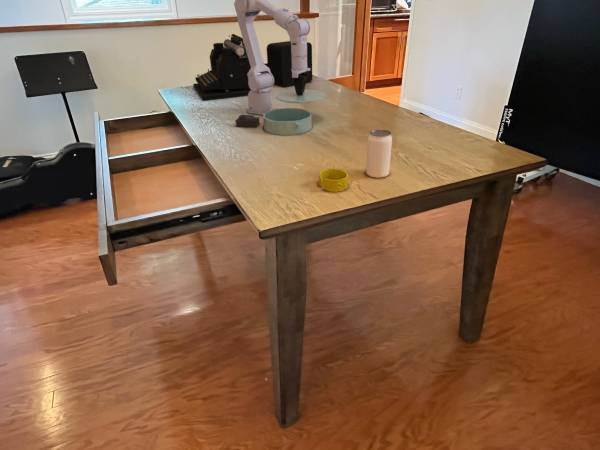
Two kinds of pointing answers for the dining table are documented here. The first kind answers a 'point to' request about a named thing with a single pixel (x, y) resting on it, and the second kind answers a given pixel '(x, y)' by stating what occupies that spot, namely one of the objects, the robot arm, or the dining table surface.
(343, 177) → the bracelet
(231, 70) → the typewriter
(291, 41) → the robot arm
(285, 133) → the pot
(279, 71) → the air purifier
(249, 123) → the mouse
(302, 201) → the dining table surface
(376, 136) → the can
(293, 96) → the lid
